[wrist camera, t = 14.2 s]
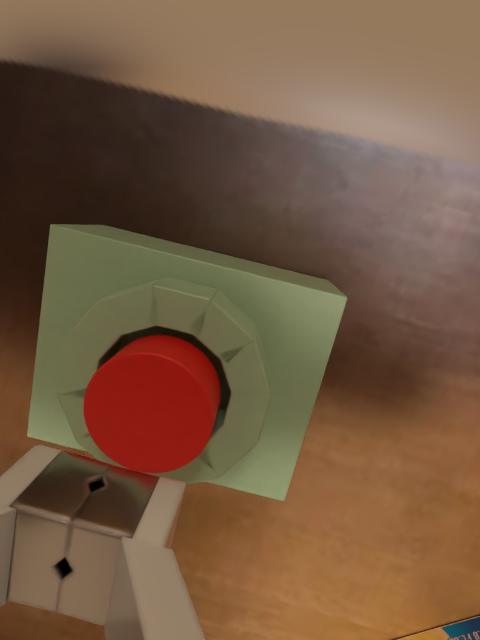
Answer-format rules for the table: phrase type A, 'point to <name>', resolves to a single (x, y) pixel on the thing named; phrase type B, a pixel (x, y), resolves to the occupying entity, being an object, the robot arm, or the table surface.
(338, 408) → the table surface
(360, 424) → the table surface
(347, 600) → the table surface
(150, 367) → the button
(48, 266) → the button block
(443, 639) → the beverage box
